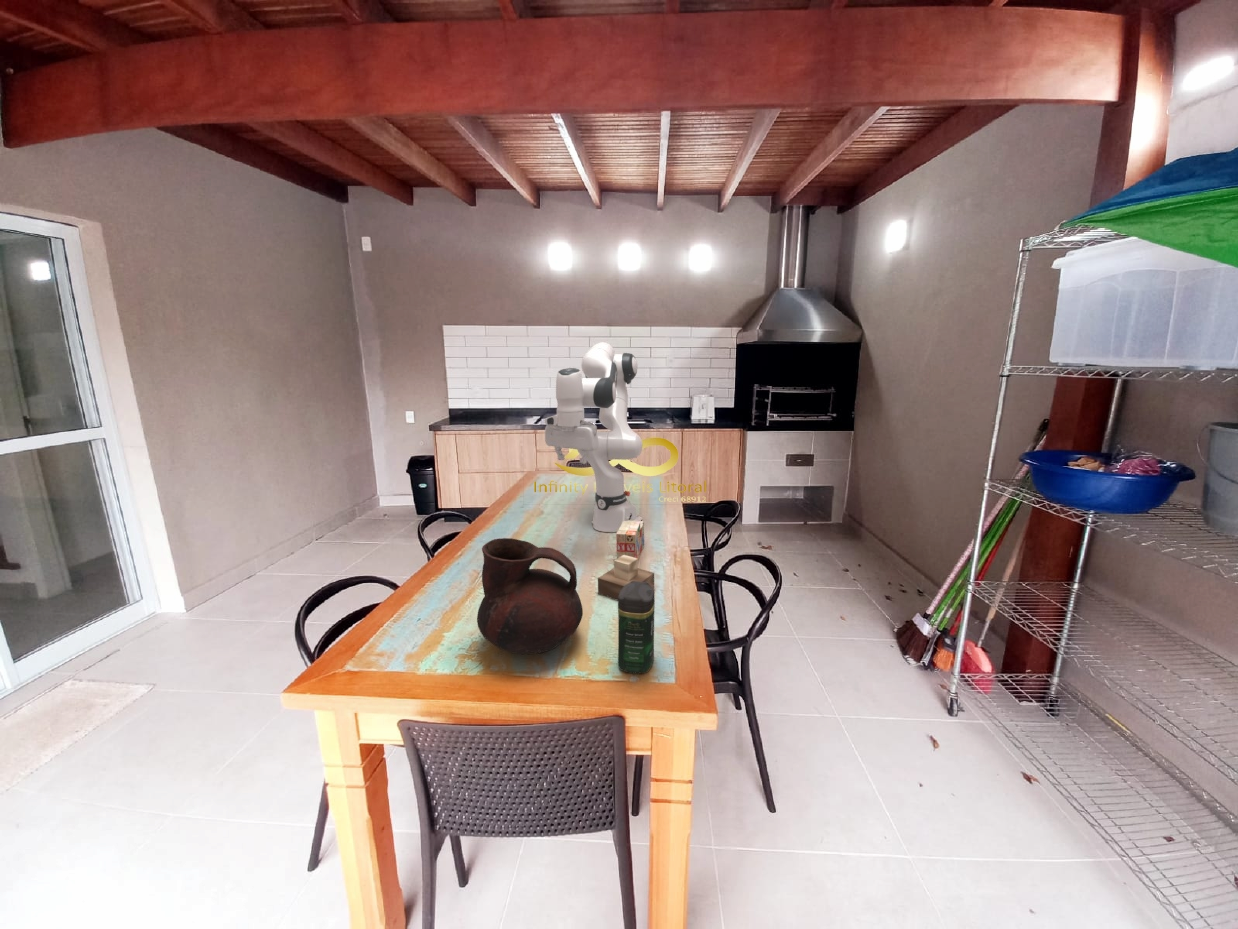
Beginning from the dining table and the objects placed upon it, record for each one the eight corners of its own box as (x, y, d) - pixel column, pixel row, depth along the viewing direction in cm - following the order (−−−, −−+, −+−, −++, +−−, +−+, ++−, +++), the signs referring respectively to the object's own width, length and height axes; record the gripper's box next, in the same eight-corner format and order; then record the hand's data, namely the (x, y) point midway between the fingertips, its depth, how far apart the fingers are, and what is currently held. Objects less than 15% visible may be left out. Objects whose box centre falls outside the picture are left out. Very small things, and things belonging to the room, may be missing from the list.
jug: (568, 678, 106) (563, 572, 101) (460, 666, 111) (451, 564, 105) (593, 618, 130) (591, 529, 125) (504, 610, 135) (498, 524, 129)
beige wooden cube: (623, 570, 147) (623, 554, 146) (637, 574, 144) (637, 558, 143) (614, 576, 143) (614, 560, 142) (628, 580, 140) (628, 564, 139)
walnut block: (621, 578, 153) (621, 563, 152) (654, 588, 146) (654, 572, 145) (598, 593, 144) (597, 578, 142) (632, 605, 137) (632, 588, 136)
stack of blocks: (627, 543, 181) (627, 512, 178) (644, 544, 180) (644, 513, 177) (616, 568, 161) (616, 533, 158) (635, 569, 159) (635, 534, 157)
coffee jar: (650, 678, 106) (650, 600, 102) (615, 673, 108) (613, 596, 104) (657, 652, 115) (657, 579, 111) (624, 647, 117) (623, 576, 113)
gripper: (602, 420, 154) (603, 463, 158) (554, 416, 166) (555, 456, 169) (589, 423, 149) (591, 467, 153) (541, 418, 161) (543, 459, 164)
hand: (572, 461), depth 161 cm, fingers open, 8 cm apart
